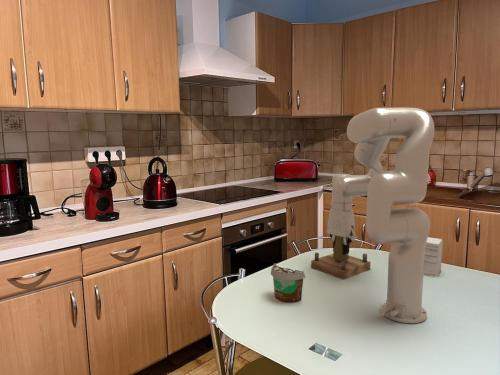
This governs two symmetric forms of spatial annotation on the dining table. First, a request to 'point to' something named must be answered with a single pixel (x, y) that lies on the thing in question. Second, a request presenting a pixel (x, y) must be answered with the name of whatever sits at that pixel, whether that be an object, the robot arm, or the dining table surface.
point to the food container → (287, 284)
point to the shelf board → (340, 265)
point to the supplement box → (433, 257)
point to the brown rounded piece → (339, 249)
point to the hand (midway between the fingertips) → (341, 252)
